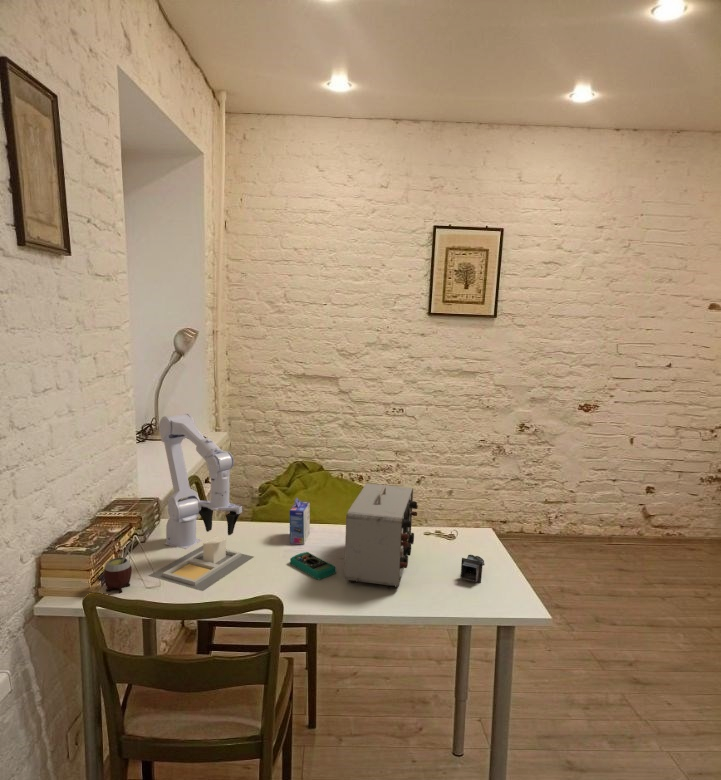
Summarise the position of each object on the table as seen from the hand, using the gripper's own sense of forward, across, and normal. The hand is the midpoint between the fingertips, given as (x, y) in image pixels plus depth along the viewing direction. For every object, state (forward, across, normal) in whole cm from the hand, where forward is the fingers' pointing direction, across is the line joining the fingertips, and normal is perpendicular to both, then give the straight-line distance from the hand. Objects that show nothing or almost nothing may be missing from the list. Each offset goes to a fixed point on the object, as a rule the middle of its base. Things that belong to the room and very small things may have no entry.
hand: (219, 532), depth 168 cm
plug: (+9, -1, -1) cm, 9 cm away
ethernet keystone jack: (+9, +78, +17) cm, 81 cm away
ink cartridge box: (+10, +17, +25) cm, 32 cm away
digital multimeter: (+10, +30, +5) cm, 32 cm away
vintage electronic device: (+9, +50, +14) cm, 53 cm away
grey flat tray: (+9, -2, -6) cm, 11 cm away
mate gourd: (+10, -17, -25) cm, 32 cm away
